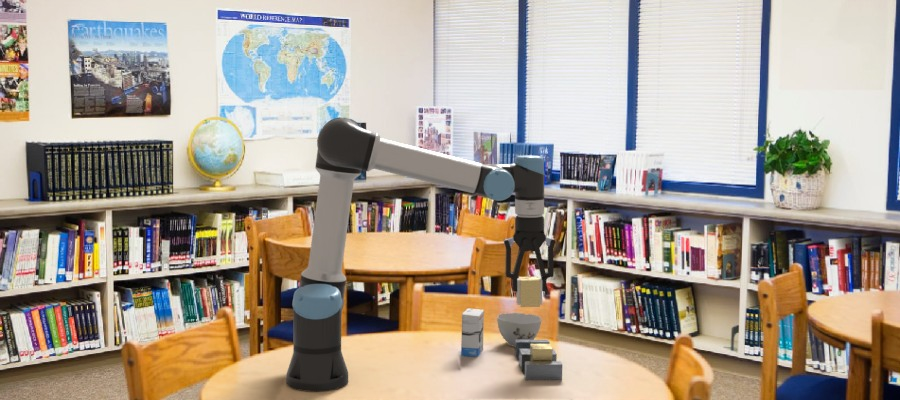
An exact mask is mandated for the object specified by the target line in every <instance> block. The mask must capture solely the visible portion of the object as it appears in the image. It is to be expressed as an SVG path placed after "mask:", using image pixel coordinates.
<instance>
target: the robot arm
mask: <svg viewBox="0 0 900 400" xmlns="http://www.w3.org/2000/svg"><path fill="white" fill-rule="evenodd" d="M316 142H317V143H316V146H317V153H316V160H315V161H316V162H315V170H316V171H317V173H318V174H319V182H318V183H319V184H318V190H317V199H316V205H315V207H316V208H315V214H314V221H313V228H312V234H311V235H312V236H311V244H310V250H309V259H308V266H307V268H305V269H304V270H302V272H301V274H300V279H299V286H298V288H296V290H295V291H294V293H293V299H292V303H291V305H292V309H293V310H292V311H293V314H292V315H293V318H292V321H293V324H292V325H293V327H292V328H293V330H292V331H293V332H292V333H293V334H292V335H293V344H292V345H293V347H292V348H293V352H292V355H291V357H290V358H291V359H290V362H289V365H288V368H287V370H286V371H287V372H286V375H285V376H286V381H285V382H286V386H287V387H289V388H291V389H294V390H298V391H304V392H325V391H327V392H328V391H332V390H336V389H340V388H343V387H345V386H346V385H348V383H349V371H348V368H347V364H346V362H345V359H344V356H343V351H342V315H343V314H342V313H343V310H344V309H343V308H344V305H345V303H344V302H345V293H346V292H345V291H346V284H347V276H345V274H344V273H343V263H344V257H345V248H346V242H347V241H346V240H347V235H348V225H349V220H350V212H351V211H350V210H351V204H352V196H353V190H354V183H355V179H357V178H358V177H359V176H361V174H362V171H364V172H371V171H372V170H377V171H382V172H386V173H390V174H393V175H399V176H402V177H406V178H410V179H414V180H419V181H423V182H426V183H431V184H434V185H439V186H443V187H446V188H451V189H455V190H458V191H463V192H465V193H466V192H467V193H471V194H475V195H477V196H481V197H485V198H486V197H487V198H489V199H490V200H493V201H497V202H498V201H499V202H500V201H505V200H507V199H508V198H510V197H511V196H512V195H513V194H514V214H515V215H516V216H515V218H514V233H513V235H512V237H509V238H504V239H503V244H504V246H505V269H504V270H505V272H504V273H505V276H506V278H508V279H511V284H512V285H511V288H512V289H511V290H512V291H513V292H514V293H515V292H516V305H517V306H520V279H519V276H520V275H519V274H520V270H521V267H522V264H523V263H522V262H523V258H524V256H525V253H526V252H534V254H535V259H536V263H537V266H538V270H539V274H540V277H538V278H539V279H540V306H541V305H543V292H547V280H548V279H550V278H553V277H554V274H555V273H554V271H555V270H554V268H555V267H554V248H555V245H556V243H557V242H556V239H554V238H553V237H551V238H550V237H547V236H546V234H545V217H544V216H543V215H544V214H545V175H546V173H545V162H544V161H545V160H544V158H543V157H542V156H540V155H531V154H530V155H528V154H527V155H517V156H516V157H514V158H515V159H514V163H513V162H512V163H506V164H505V163H500V164H499V163H480V162H476V161H472V160H468V159H464V158H460V157H455V156H453V155H452V156H451V155H448V154H445V153H440V152H436V151H432V150H429V149H425V148H420V147H417V146H414V145H409V144H404V143H401V142H397V141H393V140H390V139H385V138H382V137H381V136H380V135H379V133H378V132H374V131H370V130H367V129H365V128H363V127H362V126H361V124H360V123H358V122H357V121H355V120H354V119H352V118H347V117H334V118H332V119H330V120H329V121H327V122H326V123H325V124H324V125H323V126H322V128H321V129H320V131H319V133H318V135H317V141H316ZM514 242H515V244H516V245H517V247H518V251H517V252H518V253H517V256H516V260H515V263H514V264H515V265H514V267H513V272H512V247H513V245H514ZM544 242H545V245H546V246H547V272H546V269H545V265H544V261H543V258H542V253H541V250H540V248H541V247H542V246H543V244H544Z"/></svg>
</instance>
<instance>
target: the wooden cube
mask: <svg viewBox="0 0 900 400" xmlns="http://www.w3.org/2000/svg"><path fill="white" fill-rule="evenodd" d="M553 349H554V348H553V347H552V345H551V343H550V344H530V361H552V353H553Z"/></svg>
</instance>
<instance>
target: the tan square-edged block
mask: <svg viewBox="0 0 900 400" xmlns="http://www.w3.org/2000/svg"><path fill="white" fill-rule="evenodd" d="M518 278H519V279H520V305H519V306H520V308H540V307H541V305H540V279H539V278H540V277H538V276H518Z"/></svg>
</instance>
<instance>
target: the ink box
mask: <svg viewBox="0 0 900 400" xmlns="http://www.w3.org/2000/svg"><path fill="white" fill-rule="evenodd" d="M461 314H462V315H461V341H460V342H461V348H460V349H461V350H460V356H462V357H474V358H476V357H477V358H478V357H479V356H480V355H481V353H483V351H484V323H485V322H484V321H485V320H484V319H485V315H484V314H485V309H478V308H466V309H465V311H463V312H462V313H461Z"/></svg>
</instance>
